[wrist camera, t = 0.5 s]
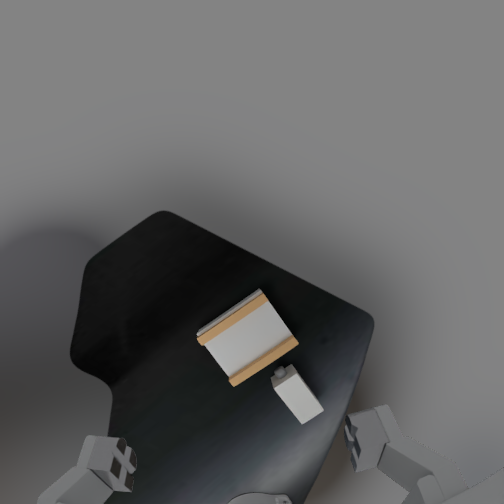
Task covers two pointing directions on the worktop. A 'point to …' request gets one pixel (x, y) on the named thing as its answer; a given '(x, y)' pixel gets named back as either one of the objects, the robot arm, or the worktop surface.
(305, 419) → the white block with knob
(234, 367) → the white tray with rails
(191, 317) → the worktop surface
